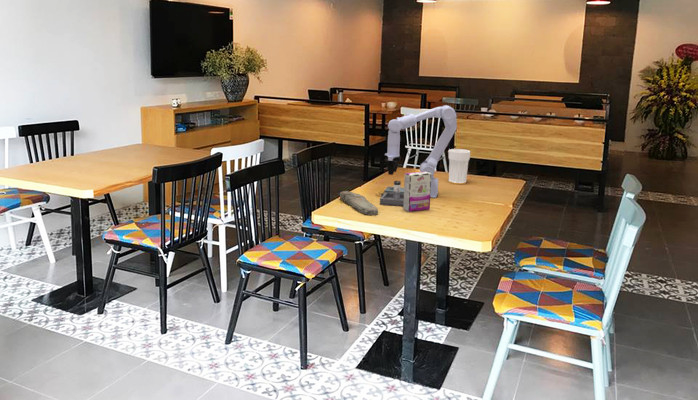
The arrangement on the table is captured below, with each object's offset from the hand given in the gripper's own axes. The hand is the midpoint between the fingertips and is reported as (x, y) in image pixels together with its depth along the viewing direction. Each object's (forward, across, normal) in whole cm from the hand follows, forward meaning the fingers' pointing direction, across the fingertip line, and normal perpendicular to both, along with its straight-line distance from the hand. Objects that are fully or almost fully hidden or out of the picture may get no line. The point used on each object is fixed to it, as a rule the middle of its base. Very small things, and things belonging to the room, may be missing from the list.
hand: (392, 173), depth 286 cm
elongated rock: (+11, +27, -10) cm, 31 cm away
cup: (+11, -40, +28) cm, 50 cm away
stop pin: (+10, +15, +5) cm, 19 cm away
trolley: (+10, +3, +4) cm, 12 cm away
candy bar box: (+11, +25, +16) cm, 32 cm away
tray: (+10, +16, +6) cm, 19 cm away
